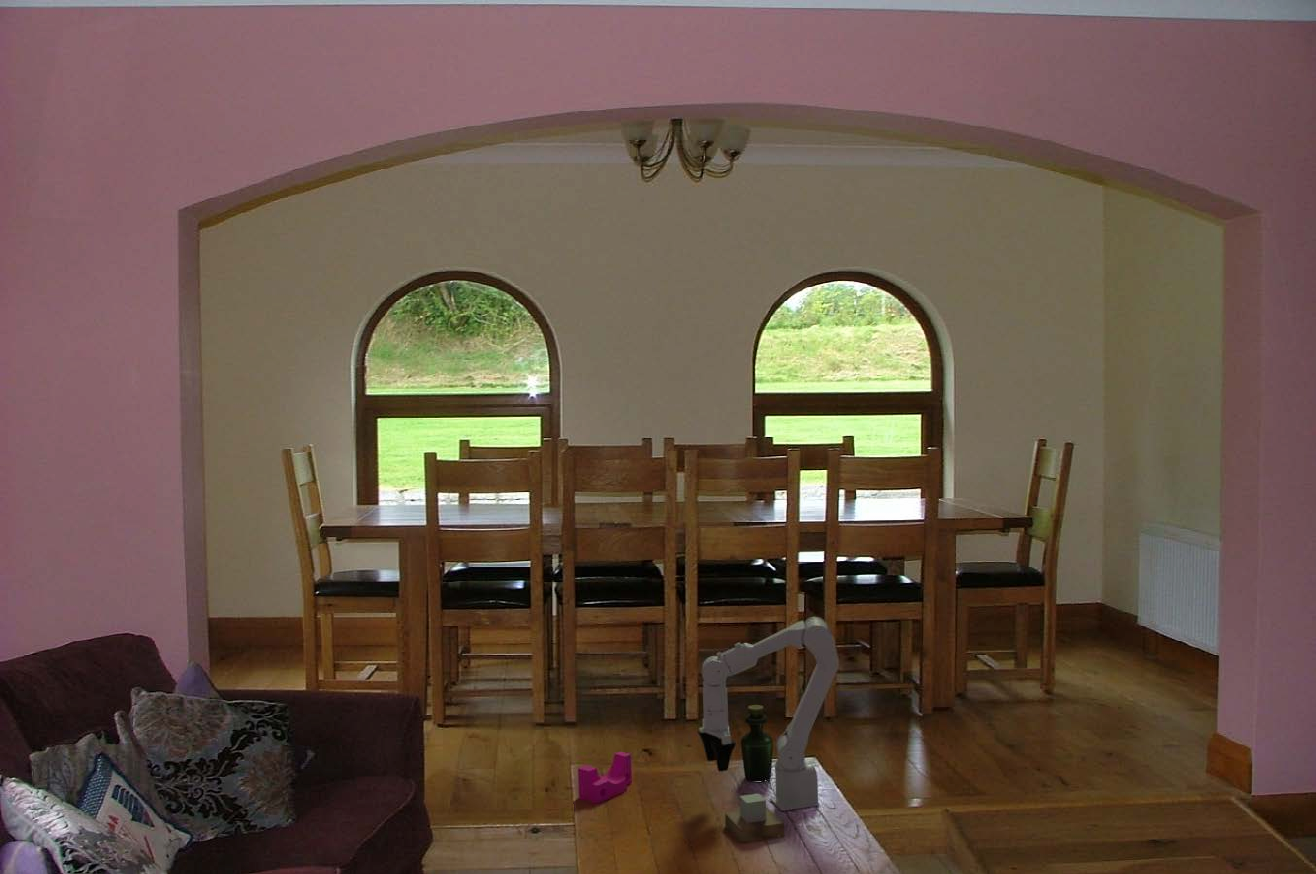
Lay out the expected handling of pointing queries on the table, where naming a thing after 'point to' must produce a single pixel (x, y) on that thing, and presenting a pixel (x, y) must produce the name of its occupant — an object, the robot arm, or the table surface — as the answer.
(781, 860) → the table surface
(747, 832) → the base block
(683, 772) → the table surface
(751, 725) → the potion bottle
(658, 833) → the table surface
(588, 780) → the toy block
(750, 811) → the gray cube
